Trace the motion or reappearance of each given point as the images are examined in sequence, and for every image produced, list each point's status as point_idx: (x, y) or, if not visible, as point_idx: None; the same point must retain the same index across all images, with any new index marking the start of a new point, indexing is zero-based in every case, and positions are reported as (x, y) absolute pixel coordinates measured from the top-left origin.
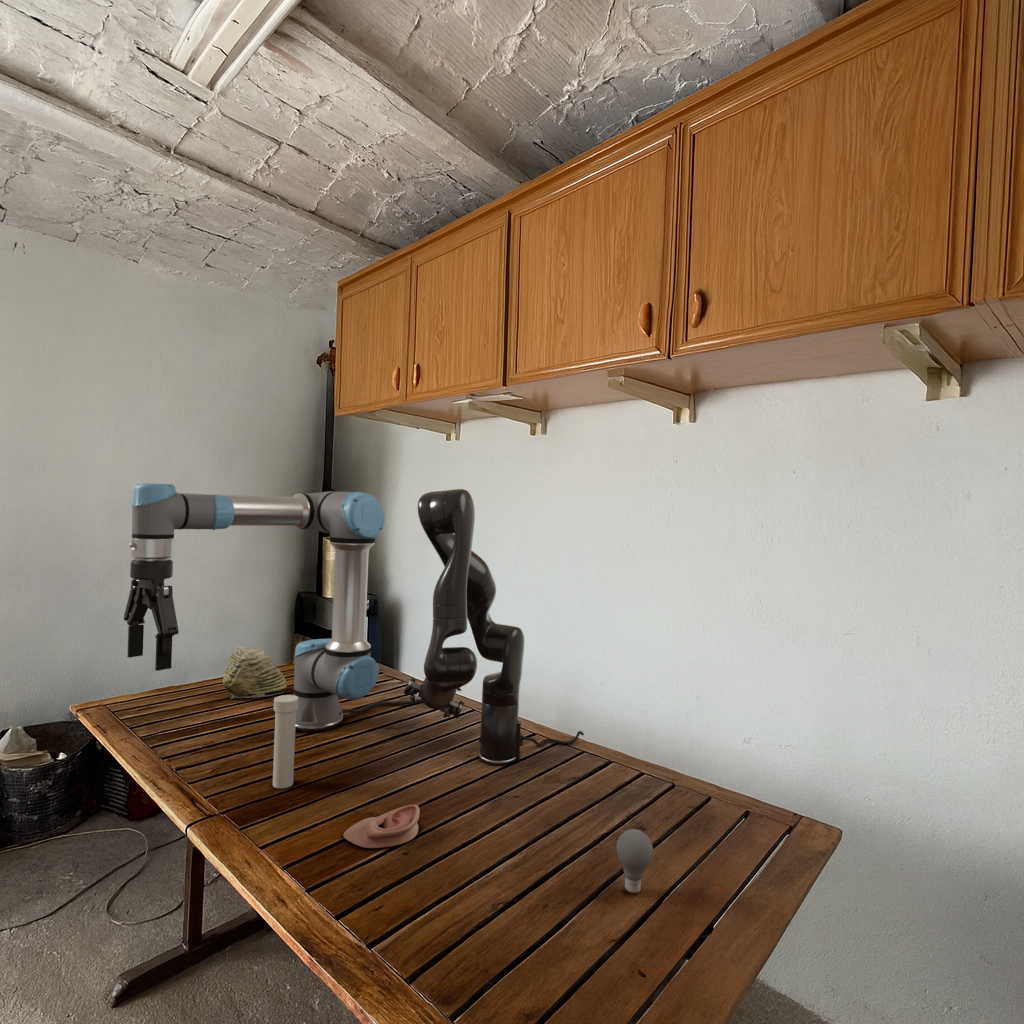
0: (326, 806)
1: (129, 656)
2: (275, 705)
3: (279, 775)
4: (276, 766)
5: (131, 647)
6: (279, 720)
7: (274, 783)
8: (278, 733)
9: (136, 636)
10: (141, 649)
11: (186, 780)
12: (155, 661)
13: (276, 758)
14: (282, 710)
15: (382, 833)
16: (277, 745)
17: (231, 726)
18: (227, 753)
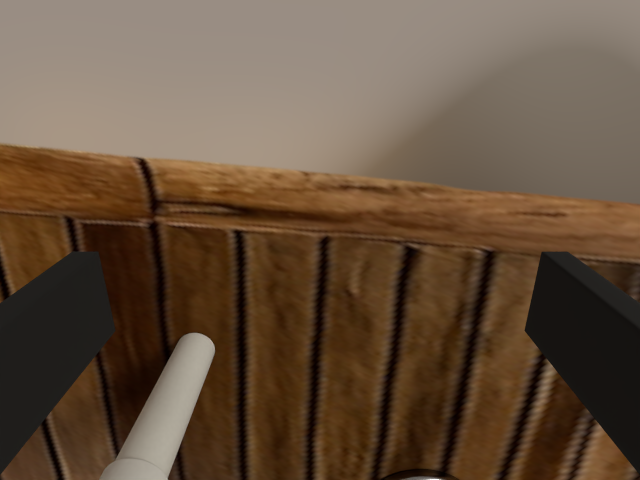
0: None
1: (545, 258)
2: (122, 474)
3: (175, 351)
4: (176, 360)
5: (579, 301)
6: (131, 443)
7: (190, 337)
8: (145, 414)
9: (633, 393)
10: (549, 349)
11: (342, 239)
12: (62, 278)
13: (171, 371)
14: (105, 470)
15: None
16: (158, 392)
17: (534, 410)
18: (407, 346)
